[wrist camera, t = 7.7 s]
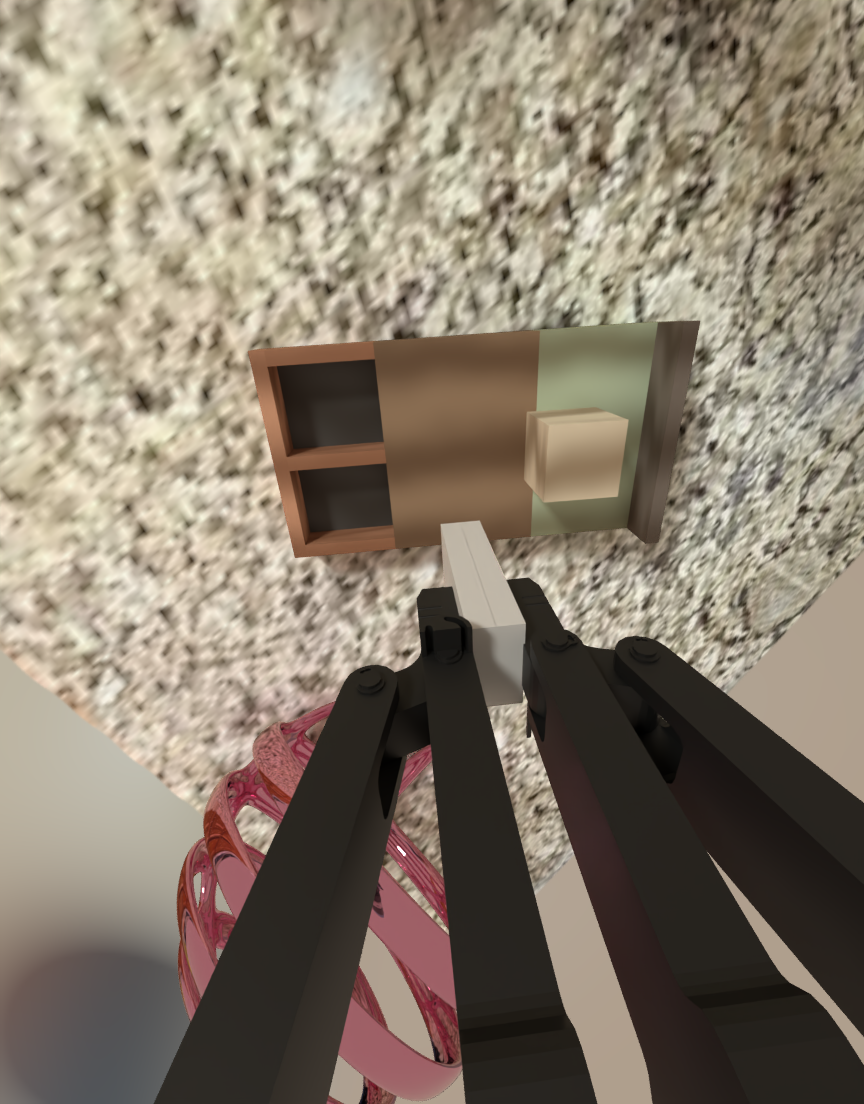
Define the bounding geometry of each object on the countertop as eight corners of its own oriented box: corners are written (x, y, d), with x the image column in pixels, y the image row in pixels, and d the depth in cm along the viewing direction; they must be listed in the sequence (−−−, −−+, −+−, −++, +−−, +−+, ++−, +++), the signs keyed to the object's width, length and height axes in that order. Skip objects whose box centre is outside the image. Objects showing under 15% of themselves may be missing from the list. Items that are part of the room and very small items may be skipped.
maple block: (526, 411, 32) (548, 425, 27) (595, 407, 32) (628, 419, 27) (523, 479, 34) (543, 502, 29) (588, 474, 34) (617, 496, 30)
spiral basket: (584, 775, 24) (127, 1471, 14) (613, 882, 42) (419, 1223, 33) (324, 586, 43) (48, 833, 33) (421, 716, 61) (261, 900, 51)
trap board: (260, 349, 31) (233, 353, 26) (649, 321, 32) (700, 320, 27) (301, 541, 38) (287, 576, 33) (621, 513, 39) (658, 542, 34)
